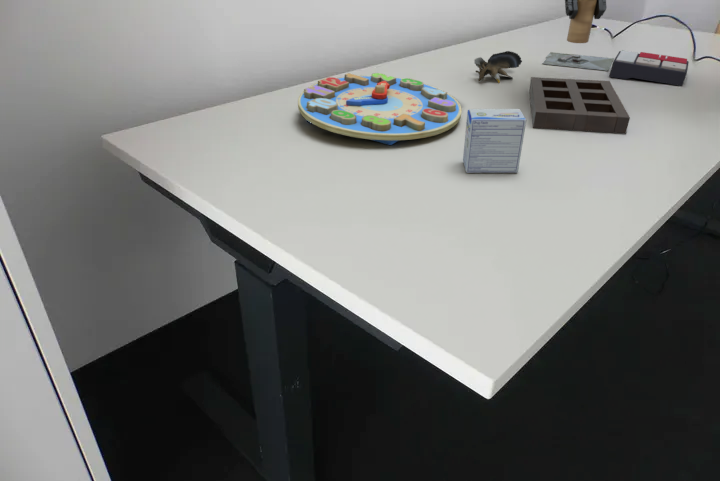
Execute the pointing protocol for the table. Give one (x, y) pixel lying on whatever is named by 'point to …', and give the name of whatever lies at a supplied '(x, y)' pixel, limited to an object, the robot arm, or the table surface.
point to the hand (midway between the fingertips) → (586, 15)
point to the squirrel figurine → (497, 64)
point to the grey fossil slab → (579, 61)
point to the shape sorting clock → (379, 107)
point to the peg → (582, 22)
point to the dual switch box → (649, 67)
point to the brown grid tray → (576, 105)
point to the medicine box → (493, 140)
